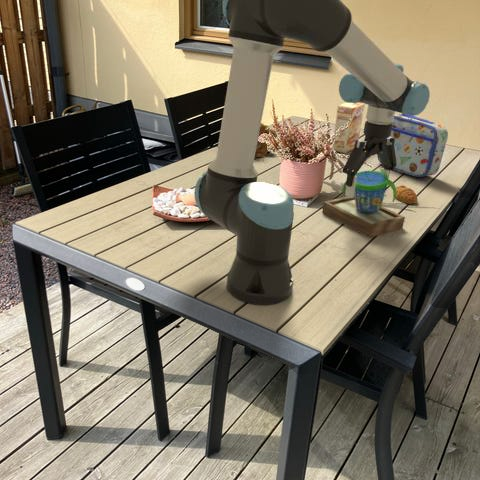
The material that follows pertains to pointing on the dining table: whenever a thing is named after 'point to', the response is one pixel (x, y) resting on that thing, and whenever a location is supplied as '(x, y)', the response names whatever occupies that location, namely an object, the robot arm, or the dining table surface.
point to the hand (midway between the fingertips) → (365, 193)
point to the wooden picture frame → (363, 217)
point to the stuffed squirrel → (262, 147)
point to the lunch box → (417, 145)
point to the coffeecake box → (352, 133)
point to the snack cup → (370, 190)
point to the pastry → (405, 194)
